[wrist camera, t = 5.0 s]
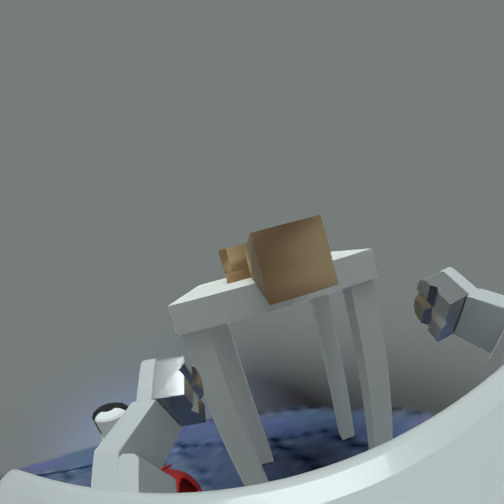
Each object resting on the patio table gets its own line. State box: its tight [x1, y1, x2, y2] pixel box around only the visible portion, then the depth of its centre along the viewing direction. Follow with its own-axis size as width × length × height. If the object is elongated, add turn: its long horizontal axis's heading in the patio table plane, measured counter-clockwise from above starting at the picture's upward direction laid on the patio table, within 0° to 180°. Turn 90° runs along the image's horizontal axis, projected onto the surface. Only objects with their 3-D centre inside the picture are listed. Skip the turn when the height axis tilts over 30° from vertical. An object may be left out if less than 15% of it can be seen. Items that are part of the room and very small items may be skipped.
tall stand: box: [168, 249, 393, 486], centre depth 25 cm, size 14×15×26 cm
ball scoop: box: [219, 215, 338, 305], centre depth 19 cm, size 6×20×3 cm, turn 2°
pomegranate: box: [161, 464, 202, 493], centre depth 21 cm, size 10×10×9 cm
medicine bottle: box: [92, 403, 164, 467], centre depth 31 cm, size 7×7×12 cm
